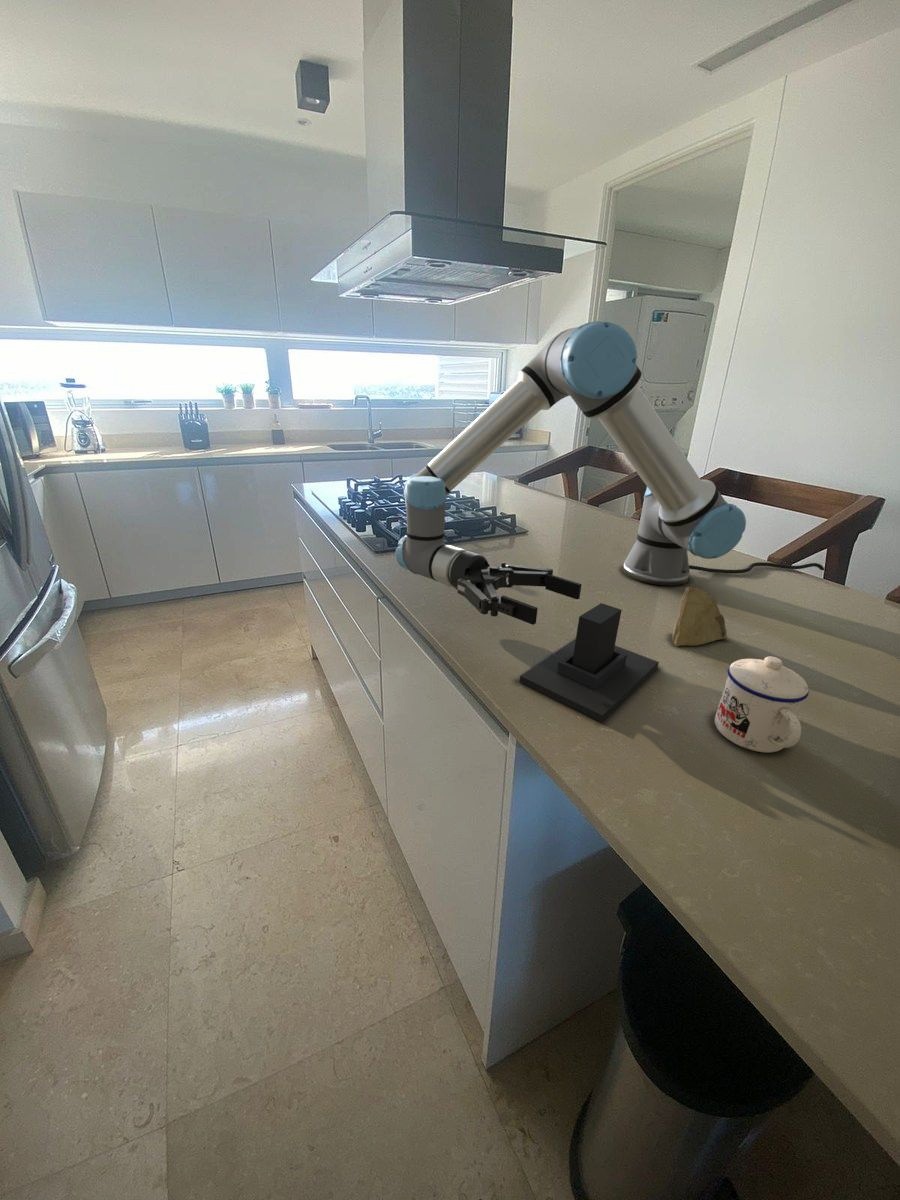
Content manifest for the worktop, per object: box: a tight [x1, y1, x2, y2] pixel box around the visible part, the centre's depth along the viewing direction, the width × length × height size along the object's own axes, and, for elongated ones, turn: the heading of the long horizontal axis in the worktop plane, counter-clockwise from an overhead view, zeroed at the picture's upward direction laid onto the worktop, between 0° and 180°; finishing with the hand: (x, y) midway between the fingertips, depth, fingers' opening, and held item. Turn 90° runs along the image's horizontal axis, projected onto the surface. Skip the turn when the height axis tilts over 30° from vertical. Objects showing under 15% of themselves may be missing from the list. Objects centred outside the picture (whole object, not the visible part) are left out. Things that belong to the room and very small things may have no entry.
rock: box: [671, 586, 728, 647], centre depth 89 cm, size 11×9×10 cm
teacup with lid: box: [714, 655, 810, 753], centre depth 63 cm, size 12×9×12 cm
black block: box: [572, 602, 622, 675], centre depth 76 cm, size 7×4×10 cm, turn 137°
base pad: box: [519, 638, 660, 723], centre depth 78 cm, size 20×14×3 cm
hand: (559, 603), depth 79 cm, fingers open, 13 cm apart
